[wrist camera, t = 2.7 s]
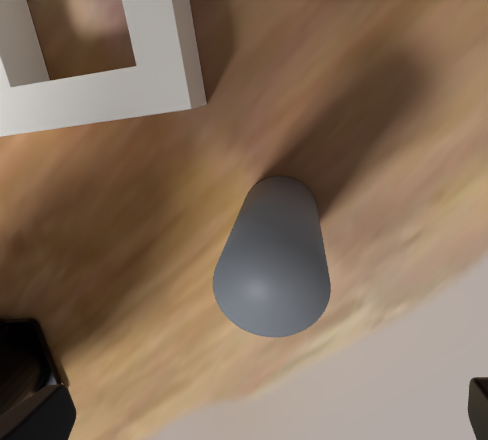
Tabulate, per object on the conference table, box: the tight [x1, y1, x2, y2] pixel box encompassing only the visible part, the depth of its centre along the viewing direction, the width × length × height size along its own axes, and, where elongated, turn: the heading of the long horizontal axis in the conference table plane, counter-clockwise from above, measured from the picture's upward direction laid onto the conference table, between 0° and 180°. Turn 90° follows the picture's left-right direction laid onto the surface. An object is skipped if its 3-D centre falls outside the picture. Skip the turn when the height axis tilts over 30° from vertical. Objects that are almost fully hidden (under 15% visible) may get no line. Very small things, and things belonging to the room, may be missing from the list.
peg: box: [213, 176, 330, 337], centre depth 16 cm, size 4×4×8 cm
